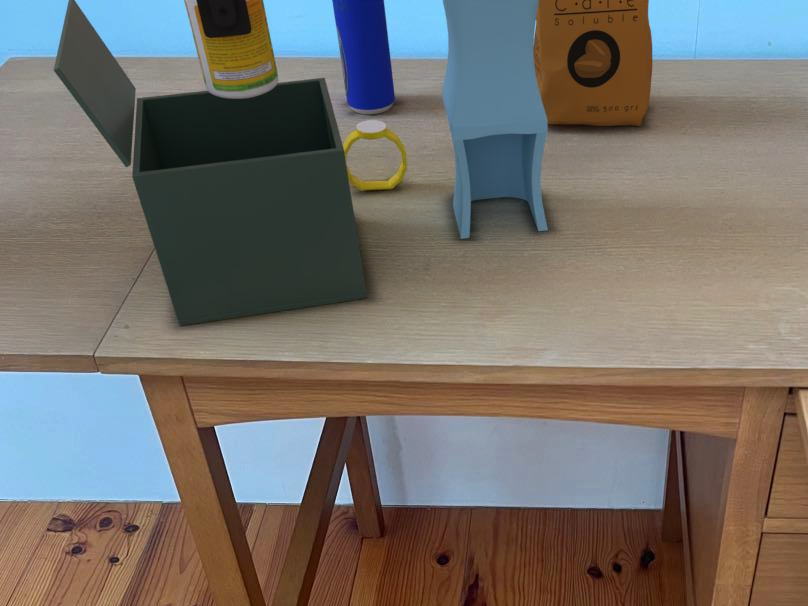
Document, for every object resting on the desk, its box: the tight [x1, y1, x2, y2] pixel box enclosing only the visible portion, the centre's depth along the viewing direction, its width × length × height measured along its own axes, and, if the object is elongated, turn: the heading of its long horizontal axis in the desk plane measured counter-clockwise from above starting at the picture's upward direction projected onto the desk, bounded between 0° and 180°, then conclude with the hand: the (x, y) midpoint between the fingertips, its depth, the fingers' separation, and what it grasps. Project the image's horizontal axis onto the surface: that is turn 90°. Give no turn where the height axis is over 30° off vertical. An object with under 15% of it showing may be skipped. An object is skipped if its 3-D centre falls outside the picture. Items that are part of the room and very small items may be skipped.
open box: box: [131, 77, 368, 327], centre depth 81 cm, size 15×14×12 cm
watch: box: [342, 119, 408, 192], centre depth 94 cm, size 6×3×6 cm, turn 101°
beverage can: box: [331, 0, 396, 115], centre depth 104 cm, size 5×5×15 cm
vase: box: [441, 0, 549, 240], centre depth 85 cm, size 8×8×20 cm
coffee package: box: [533, 0, 654, 127], centre depth 99 cm, size 10×12×22 cm
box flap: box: [53, 0, 137, 168], centre depth 73 cm, size 7×14×1 cm
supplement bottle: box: [183, 0, 279, 99], centre depth 72 cm, size 5×5×10 cm
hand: (226, 16), depth 72 cm, fingers closed on supplement bottle, 5 cm apart
